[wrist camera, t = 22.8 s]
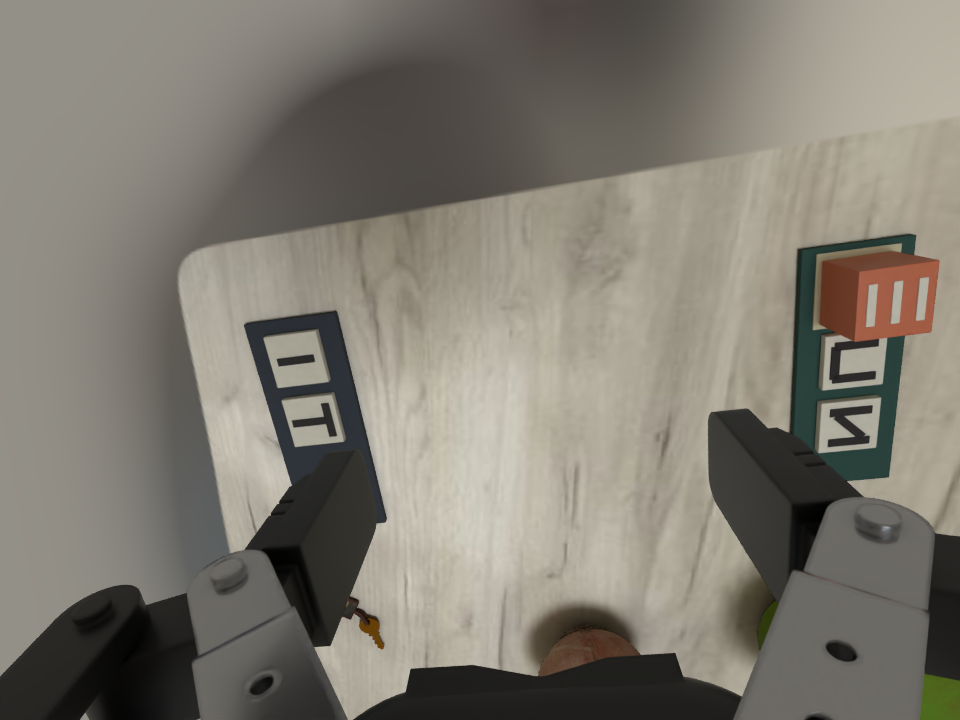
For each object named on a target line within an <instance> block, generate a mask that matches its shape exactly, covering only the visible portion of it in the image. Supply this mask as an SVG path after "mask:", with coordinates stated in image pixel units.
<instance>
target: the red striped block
mask: <svg viewBox="0 0 960 720" xmlns="http://www.w3.org/2000/svg"><path fill="white" fill-rule="evenodd" d="M938 269H939V260H936V259H931V258H926V257H921V256H916V255H911V254H905V253H900V252H895V251H890V252H883V253H876V254H869V255H862V256H855V257H848V258H841V259H834V260H827V261H823V262H822V281H821V303H820V325H821V326H823V327H825V328H827V329H829V330H831V331H833V332H835V333H837V334H840V335H842V336H844V337H846V338H848V339H850V340H852V341H854V342H858V341H866V340H874V339H881V338H889V337H897V336H905V335H913V334H921V333H929V332H931V330H932V322H933V313H934V304H935V296H936V287H937V278H938Z"/></svg>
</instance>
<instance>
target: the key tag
mask: <svg viewBox="0 0 960 720" xmlns="http://www.w3.org/2000/svg"><path fill="white" fill-rule="evenodd" d="M358 604H359V602H358V601H356V600H353V599H351V598H349V600H348V602H347V605H346V607H345V610H344V612H343V615H342V617H345V618H348V619H350V620H351V618H352V616H353V614H354V613H355V614H356V615H357V616H358V617H360V618H361V620H362V621H361V622H360V624H359V627H360V629H361V630H362V631H363V632H365V633H368V634H369V636H373V640H375V644H377V645H378V648H380V649H383V648H384V645H383V643H382V641H381V639H380V637H379V636H378V634H379V633H380V632H379V631H378V630H379V627H380V625H379V623H378V622H377V621H376V620H375V619H372V618H368V617H367V616H366V614H365V613H364V612H362V611H360V610H358V609H356V608H357V606H358Z"/></svg>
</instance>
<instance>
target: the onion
mask: <svg viewBox="0 0 960 720" xmlns="http://www.w3.org/2000/svg"><path fill="white" fill-rule="evenodd" d="M586 626H587V627H586ZM586 626H585V625H584V626H580V627H577V628H574V629H572V630H570V631H568V632H564V633H567V634H566V636H565V635H564V636H565V637H564V636H563V637H564V638H563V637H562V639H561V638H560V639H561V640H560V639H559V640H560V641H558V642H557V643H556V644H555V645H554V646H553V647H552V649H551V650H550V651H549V653H548V655H547V657H546V659H545V660H544V661H543V664H542V665H541V668H540V671H539V672H538V673H539V676H546V675H550V674H553V673H556V672H560V671H563V670H566V669H570V668H573V667H576V666H580V665H583V664H586V663H590V662H593V661H596V660H600V659H603V658H606V657H618V656H635V655H640V653H639V652H638V651H637V650H636V649H635V648H634V647H633V646H632V645H631V644H630V643H629V642H628V641H626V640H625V639H623V638H622V637H620V636H618V635H617V634H614V633H611V632H609V631H604V630H607V629H602V630H601V628H597V627H592V628H590V627H589V626H590V625H586Z"/></svg>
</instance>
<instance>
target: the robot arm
mask: <svg viewBox="0 0 960 720" xmlns="http://www.w3.org/2000/svg"><path fill="white" fill-rule="evenodd" d="M708 465H709V482H710V488H711V491H712V495H713V498H714V500H715V502H716V504H717V506H718V507H719V509H720V510H721V512H722V514H723V515H724V517H725V519H726V520H727V522H728V523H729V525H730V527H731V528H732V530H733V531H734V533H735V535H736V536H737V538H738V540H739V541H740V543H741V544H742V546H743V548H744V549H745V551H746V553H747V554H748V556H749V557H750V559H751V561H752V562H753V564H754V566H755V567H756V569H757V570H758V572H759V574H760V575H761V577H762V578H763V580H764V582H765V583H766V585H767V587H768V588H769V590H770V591H771V593H772V595H773V596H774V598H775V600H776V601H777V603H778V604H779V605H778V608H777V610H776V613H775V615H774V618H773V620H772V623H771V625H770V628H769V630H768V633H767V635H766V638H765V640H764V643H763V645H762V648H761V651H760V653H759V656H758V658H757V661H756V663H755V666H754V668H753V671H752V673H751V676H750V678H749V681H748V683H747V686H746V688H745V691H744V693H743V696H742V697H741V696H739V695H737V694H735V693H733V692H731V691H729V690H727V689H724V688H722V687H719V686H716V685H714V684H711V683H708V682H704V681H701V680H697V679H693V678H688V677H683V675H682V672H681V669H680V666H679V663H678V660H677V657H676V654H675V653H668V654H651V655H635V656H618V657H606V658H603V659H600V660H596V661H593V662H590V663H586V664H583V665H580V666H576V667H573V668H570V669H566V670H563V671H560V672H556V673H553V674H550V675H546V676H531V675H525V674H520V673H514V672H508V671H503V670H497V669H492V668H486V667H481V666H475V665H467V666H450V667H433V668H417V669H411V670H410V675H409V679H408V684H407V689H406V692H405V693H402V694H398V695H396V696H394V697H391V698H389V699H386V700H384V701H382V702H380V703H378V704H377V705H375V706H373V707H371V708H369V709H368V710H366V711H365V712H363V713H362V714H360V715H359V716H358V717H356V718H355V719H353V720H920V713H921V702H922V691H923V681H924V674H927V675H933V676H938V677H943V678H948V679H953V680H958V681H960V537H959V536H950V535H943V534H936V533H935V532H934V530H933V527H932V526H931V525H930V523H929V522H928V521H927V520H925V519H924V518H923V517H922V516H920V515H919V514H917V513H916V512H914V511H912V510H910V509H908V508H906V507H903V506H901V505H898V504H895V503H892V502H889V501H885V500H880V499H875V498H866V497H863V496H862V495H861V494H860V493H859V492H858V491H857V490H856V489H854V488H853V487H852V486H851V485H850V484H849V483H848V482H847V481H846V480H845V479H844V478H843V477H841V476H840V475H839V474H838V473H837V472H836V471H835V470H834V469H833V468H832V467H831V466H829V465H826V462H825V461H824V460H823V459H822V458H821V457H820V456H819V455H818V454H814V451H813V450H812V449H811V448H810V447H809V446H808V445H807V444H806V443H804V442H803V441H802V440H801V439H800V438H799V437H796V436H794V435H792V434H790V433H788V432H785V431H783V430H781V429H779V428H767V427H766V426H765V425H764V424H763V423H762V422H761V421H760V420H759V419H758V418H757V417H756V416H755V415H754V414H753V413H752V412H751V411H750V410H749V409H737V410H727V411H718V412H711V413H710V415H709V419H708ZM376 523H377V512H376V505H375V500H374V496H373V492H372V488H371V484H370V480H369V476H368V472H367V468H366V464H365V460H364V456H363V454H362V452H361V450H359V449H350V450H340V451H331V452H327V453H326V454H325V455H324V456H323V458H322V459H321V461H320V462H319V464H318V465H317V467H316V468H315V470H314V471H313V473H312V474H306V475H305V476H304V477H302V478H301V479H300V480H298V481H297V482H296V483H295V484H293V485H292V486H291V487H289V489H288V490H287V491H286V493H285V494H284V496H283V497H282V498H281V500H280V501H279V504H277V505H276V507H275V508H274V509H273V511H272V512H271V516H268V518H267V519H266V521H265V522H264V523H263V525H262V526H261V528H260V529H259V530H258V532H257V533H256V535H255V536H254V537H253V539H252V540H251V541H250V543H249V544H248V546H247V547H246V548H245V550H242V551H238V552H234V553H231V554H228V555H226V556H223V557H221V558H219V559H217V560H216V561H214V562H212V563H211V564H209V565H207V566H206V567H205V568H203V569H202V570H201V571H200V572H199V573H198V574H197V575H196V576H195V577H194V578H193V580H192V581H191V582H190V584H189V586H188V589H187V593H185V594H182V595H179V596H175V597H172V598H169V599H165V600H162V601H159V602H155V603H152V604H149V605H146V604H145V602H144V600H143V598H142V595H141V593H140V591H139V589H138V588H136V587H135V586H132V585H119V586H113V587H110V588H106V589H104V590H101V591H98V592H96V593H94V594H91V595H89V596H87V597H86V598H84V599H82V600H80V601H79V602H77V603H75V604H74V605H72V606H71V607H69V608H68V609H67V610H66V611H64V612H63V613H62V614H61V615H60V616H59V617H58V618H56V619H55V620H54V621H53V623H52V624H51V625H50V626H49V627H48V628H47V629H46V630H45V631H44V632H43V633H42V634H41V635H40V636H39V637H38V638H37V639H36V640H35V641H34V642H33V643H32V644H31V645H30V646H29V647H28V649H26V651H24V653H23V654H22V655H21V656H20V657H19V658H18V659H17V660H16V661H15V662H14V663H13V664H12V665H11V666H10V667H9V668H8V669H7V670H6V671H5V672H4V673H3V674H2V675H1V676H0V720H80V719H81V717H82V716H83V715H84V713H85V712H86V714H87V716H88V718H89V720H197V719H199V718H201V720H348V719H347V717H346V715H345V713H344V710H343V708H342V706H341V704H340V702H339V700H338V698H337V695H336V693H335V691H334V689H333V687H332V685H331V683H330V680H329V678H328V676H327V674H326V672H325V670H324V668H323V666H322V663H321V661H320V659H319V657H318V655H317V653H316V651H315V648H314V647H321V646H331V643H332V641H333V638H334V636H335V633H336V630H337V628H338V625H339V623H340V620H341V618H342V615H343V612H344V610H345V607H346V605H347V602H348V600H349V597H350V594H351V592H352V589H353V587H354V584H355V582H356V579H357V577H358V574H359V571H360V569H361V566H362V564H363V561H364V559H365V556H366V553H367V551H368V548H369V546H370V543H371V541H372V538H373V535H374V533H375V529H376Z"/></svg>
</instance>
